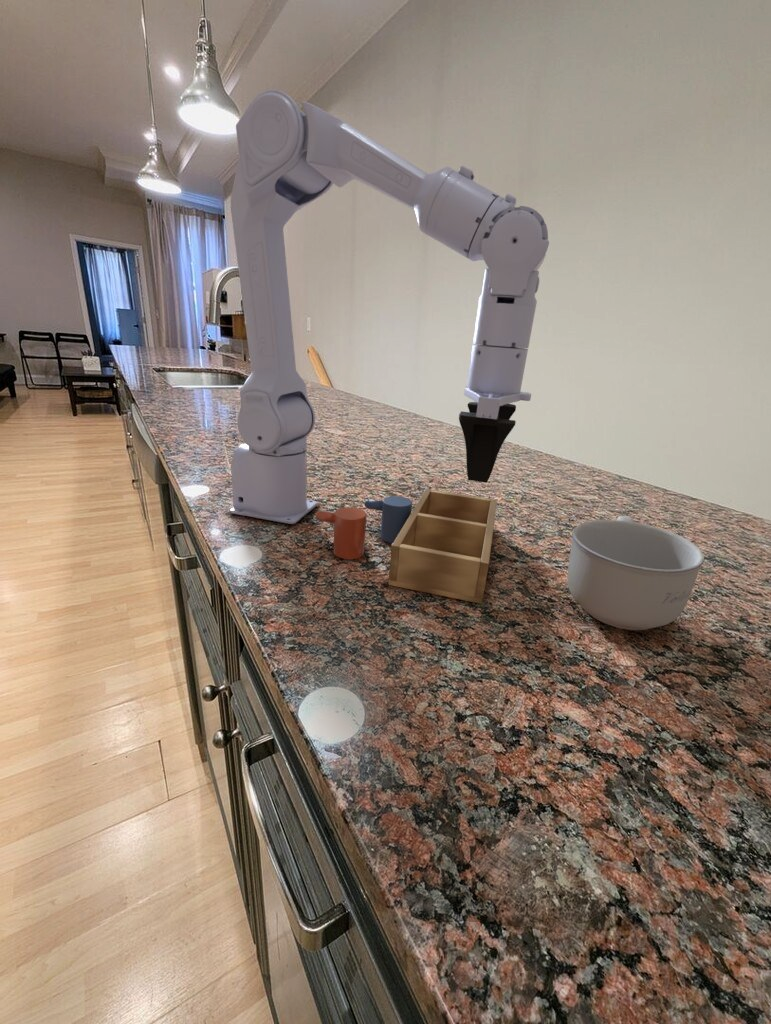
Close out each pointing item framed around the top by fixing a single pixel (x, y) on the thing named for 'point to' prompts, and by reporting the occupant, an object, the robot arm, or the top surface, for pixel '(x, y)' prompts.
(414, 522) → the caddy
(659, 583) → the teacup
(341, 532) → the terracotta scoop
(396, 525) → the blue scoop
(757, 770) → the top surface
